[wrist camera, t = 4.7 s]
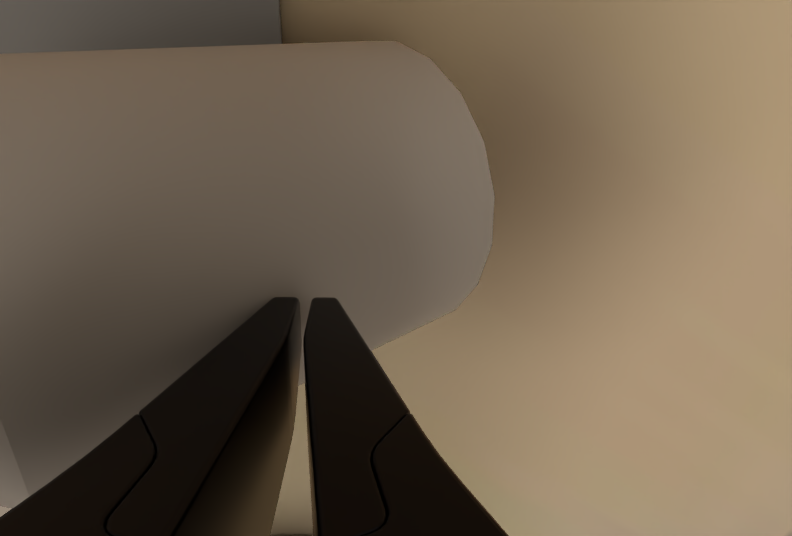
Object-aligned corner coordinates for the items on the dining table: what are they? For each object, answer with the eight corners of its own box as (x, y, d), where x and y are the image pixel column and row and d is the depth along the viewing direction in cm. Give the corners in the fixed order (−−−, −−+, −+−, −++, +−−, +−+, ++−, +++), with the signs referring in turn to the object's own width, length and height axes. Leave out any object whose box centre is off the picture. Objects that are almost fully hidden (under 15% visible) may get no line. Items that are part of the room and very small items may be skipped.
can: (326, 247, 20) (-118, 386, 12) (332, 17, 16) (-302, 18, 8) (488, 358, 15) (-66, 688, 8) (552, 71, 11) (-421, 176, 4)
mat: (297, 329, 21) (296, 333, 21) (-64, 328, 20) (-69, 333, 20) (270, -167, 14) (268, -169, 14) (-290, -200, 13) (-303, -204, 13)
